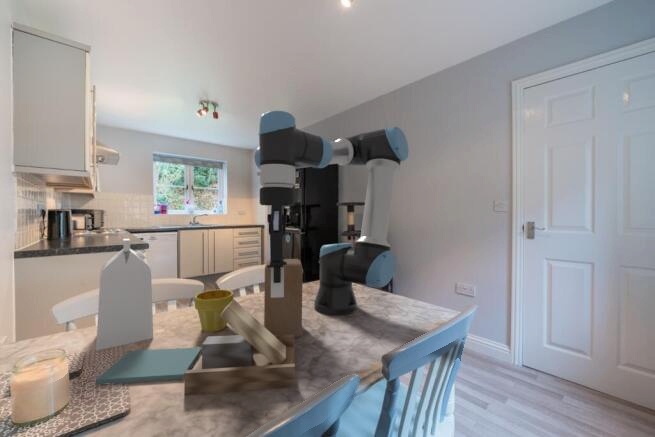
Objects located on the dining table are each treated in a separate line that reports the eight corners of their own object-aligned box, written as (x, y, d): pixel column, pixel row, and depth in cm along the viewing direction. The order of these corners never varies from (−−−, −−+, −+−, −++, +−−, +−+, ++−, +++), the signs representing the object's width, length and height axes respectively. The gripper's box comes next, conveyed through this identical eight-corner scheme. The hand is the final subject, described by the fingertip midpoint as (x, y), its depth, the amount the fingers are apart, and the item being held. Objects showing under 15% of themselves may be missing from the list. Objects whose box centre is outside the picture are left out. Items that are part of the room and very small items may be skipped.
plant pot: (219, 337, 72) (220, 300, 72) (186, 333, 74) (186, 298, 74) (239, 322, 82) (240, 290, 82) (209, 319, 84) (210, 288, 84)
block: (302, 338, 72) (302, 264, 72) (263, 341, 70) (264, 265, 70) (299, 323, 82) (300, 258, 81) (266, 325, 80) (266, 258, 80)
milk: (99, 333, 74) (99, 238, 73) (149, 323, 81) (150, 237, 80) (96, 351, 64) (96, 242, 64) (153, 338, 71) (153, 240, 71)
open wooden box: (294, 350, 65) (294, 323, 65) (294, 387, 51) (295, 352, 51) (208, 355, 63) (208, 326, 63) (184, 395, 49) (184, 358, 49)
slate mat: (202, 351, 64) (202, 347, 64) (183, 379, 54) (183, 374, 54) (129, 355, 62) (129, 350, 62) (95, 384, 51) (95, 379, 51)
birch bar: (278, 354, 60) (286, 346, 61) (276, 367, 55) (285, 358, 56) (225, 307, 59) (233, 299, 59) (219, 315, 54) (228, 306, 54)
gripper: (262, 189, 63) (262, 288, 64) (255, 183, 50) (255, 307, 51) (294, 189, 64) (294, 287, 65) (295, 184, 51) (295, 306, 52)
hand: (277, 296), depth 58 cm, fingers closed
